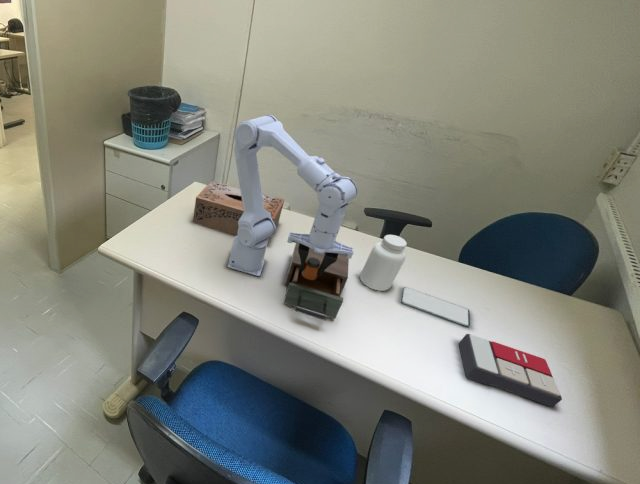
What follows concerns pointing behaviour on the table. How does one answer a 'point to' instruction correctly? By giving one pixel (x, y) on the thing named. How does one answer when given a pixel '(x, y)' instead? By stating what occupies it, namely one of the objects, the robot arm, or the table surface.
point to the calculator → (508, 369)
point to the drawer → (314, 295)
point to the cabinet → (334, 269)
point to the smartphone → (436, 306)
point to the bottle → (311, 268)
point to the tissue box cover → (228, 207)
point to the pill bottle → (384, 263)
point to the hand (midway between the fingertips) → (310, 270)
